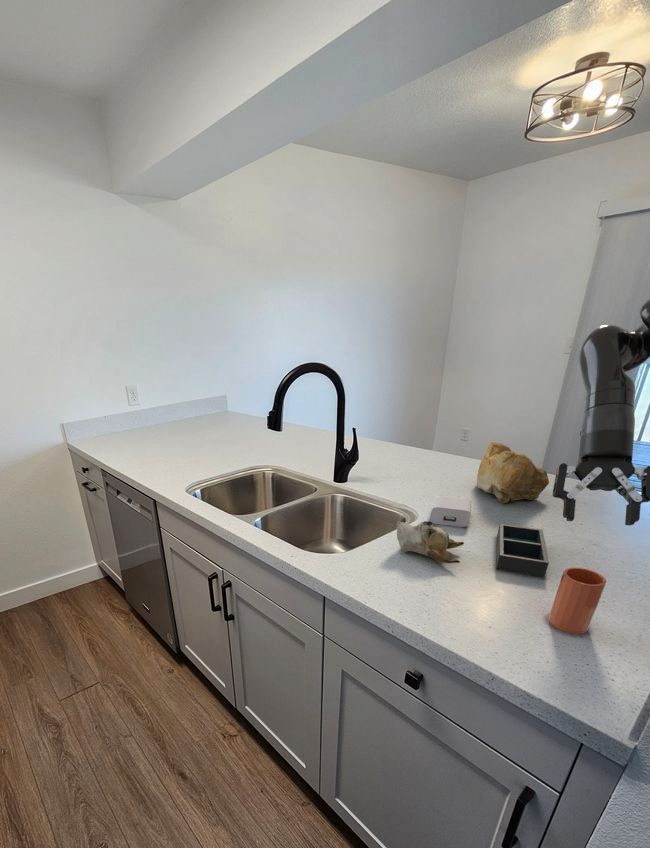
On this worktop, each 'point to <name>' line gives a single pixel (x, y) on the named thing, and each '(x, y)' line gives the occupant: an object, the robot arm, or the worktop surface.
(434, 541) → the ceramic sculpture
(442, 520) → the charger
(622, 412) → the robot arm
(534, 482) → the rough brown rock
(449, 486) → the worktop surface
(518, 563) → the holder
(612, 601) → the worktop surface
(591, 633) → the worktop surface
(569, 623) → the cup
